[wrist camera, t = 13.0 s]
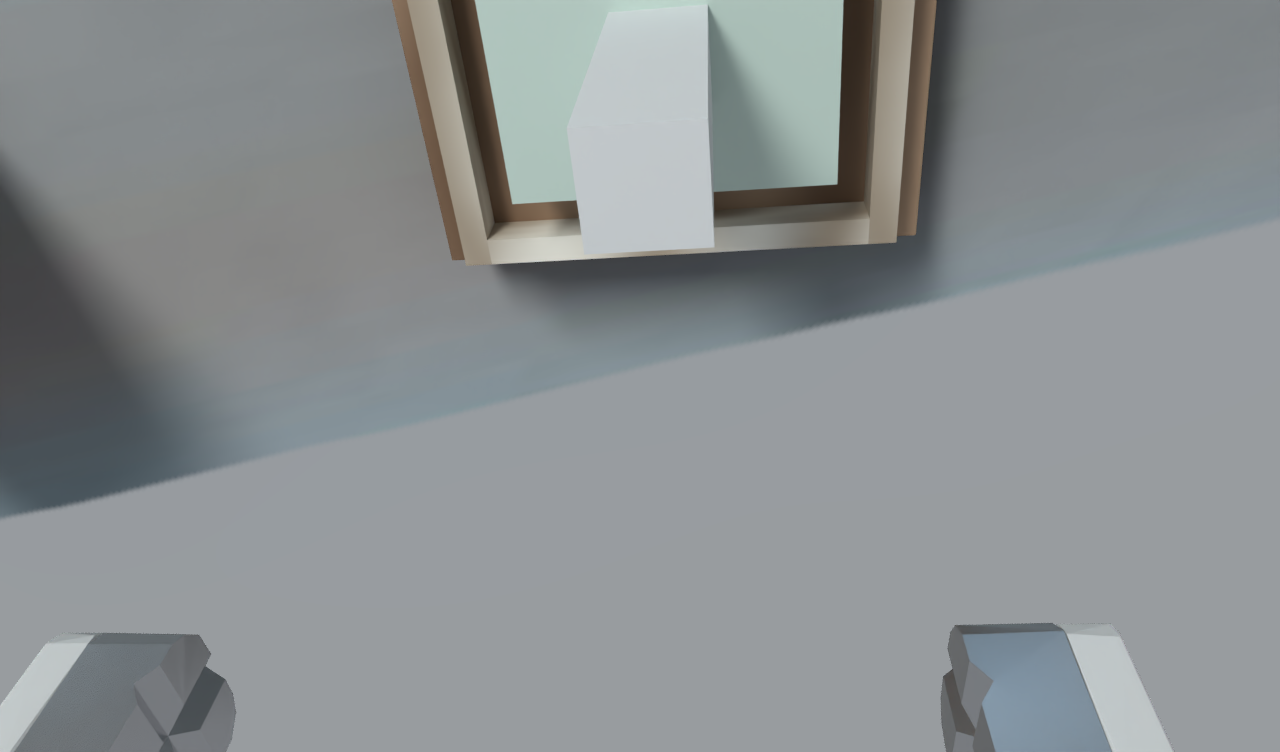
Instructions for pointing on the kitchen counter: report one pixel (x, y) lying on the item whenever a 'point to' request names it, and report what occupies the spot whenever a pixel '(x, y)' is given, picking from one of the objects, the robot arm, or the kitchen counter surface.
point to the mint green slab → (662, 107)
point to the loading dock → (743, 220)
